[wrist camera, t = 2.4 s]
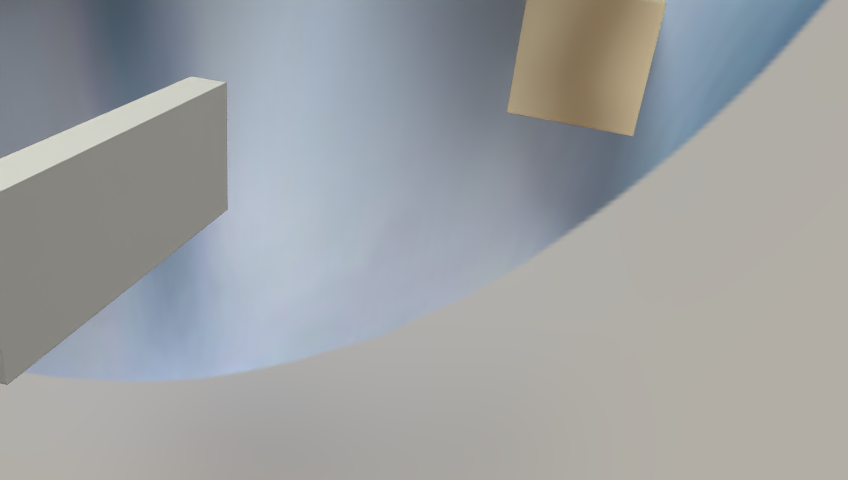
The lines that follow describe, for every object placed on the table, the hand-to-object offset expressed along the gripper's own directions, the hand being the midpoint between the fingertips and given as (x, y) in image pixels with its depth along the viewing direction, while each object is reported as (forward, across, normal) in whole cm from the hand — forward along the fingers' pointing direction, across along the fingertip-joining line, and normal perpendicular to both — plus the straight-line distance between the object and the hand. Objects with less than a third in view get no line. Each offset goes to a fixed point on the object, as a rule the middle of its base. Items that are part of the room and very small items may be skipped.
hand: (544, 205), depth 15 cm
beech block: (+25, 0, -1) cm, 25 cm away
